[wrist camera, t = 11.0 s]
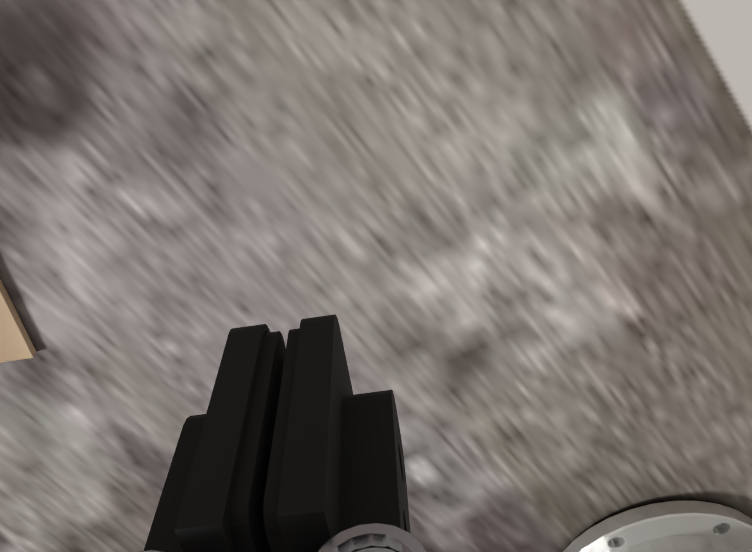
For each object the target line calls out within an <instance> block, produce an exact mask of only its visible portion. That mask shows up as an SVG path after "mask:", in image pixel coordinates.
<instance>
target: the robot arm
mask: <svg viewBox="0 0 752 552" xmlns="http://www.w3.org/2000/svg"><path fill="white" fill-rule="evenodd" d="M141 552H425V550H424V548H423V546H422V544H421V543H420V542H419V541H418V540H417V539H416V538H414V537H413V536H412V535H411V534H410V523H409V511H408V499H407V486H406V475H405V466H404V457H403V449H402V442H401V435H400V428H399V422H398V416H397V410H396V404H395V399H394V394H393V391H392V390H387V391H379V392H372V393H364V394H356V395H353V391H352V386H351V381H350V376H349V371H348V366H347V361H346V357H345V352H344V347H343V342H342V337H341V332H340V327H339V323H338V319H337V316H336V315H329V316H321V317H314V318H307V319H302V320H301V323H300V329H293V330H289V333H288V340H287V347H286V348H285V344H284V340H283V336H282V334H281V332H280V331H278V332H270V330H269V328H268V326H267V325H266V324H262V325H255V326H248V327H240V328H233V329H231V330H230V332H229V335H228V338H227V342H226V346H225V349H224V353H223V356H222V360H221V363H220V367H219V371H218V374H217V378H216V381H215V385H214V389H213V392H212V396H211V399H210V403H209V406H208V410H207V414H202V415H195V416H190V417H188V418H187V419H186V421H185V423H184V425H183V428H182V431H181V434H180V437H179V441H178V444H177V447H176V450H175V453H174V456H173V460H172V463H171V466H170V469H169V472H168V475H167V479H166V482H165V485H164V488H163V491H162V494H161V498H160V501H159V504H158V507H157V510H156V513H155V517H154V520H153V523H152V526H151V529H150V533H149V536H148V539H147V542H146V545H145V548H144V551H141ZM563 552H752V519H751V518H750V517H748V516H746V515H745V514H743V513H741V512H739V511H738V510H736V509H733V508H730V507H726V506H723V505H720V504H716V503H709V502H702V501H669V502H661V503H653V504H649V505H645V506H641V507H637V508H633V509H630V510H627V511H624V512H622V513H619V514H617V515H614V516H612V517H609V518H607V519H605V520H604V521H602V522H600V523H598V524H596V525H595V526H593V527H591V528H589V529H588V530H587V531H585V532H584V533H583V534H581V535H580V536H579V537H577V538H576V539H575V540H574V541H573V542H572V543H571V544H570V545H569V546H568V547H567V548H566V549H565V550H564V551H563Z"/></svg>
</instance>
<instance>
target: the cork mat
mask: <svg viewBox="0 0 752 552" xmlns="http://www.w3.org/2000/svg"><path fill="white" fill-rule="evenodd" d="M35 354H36V350H35V348H34V346H33V344H32V342H31V340H30V338H29V336H28V334H27V332H26V330H25V328H24V326H23V324H22V322H21V319H20V317H19V315H18V313H17V311H16V309H15V307H14V305H13V303H12V301H11V299H10V297H9V295H8V293H7V291H6V289H5V287H4V285H3V283H2V281H1V279H0V362H7V361H14V360H20V359H27V358H33V357H34V355H35Z"/></svg>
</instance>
